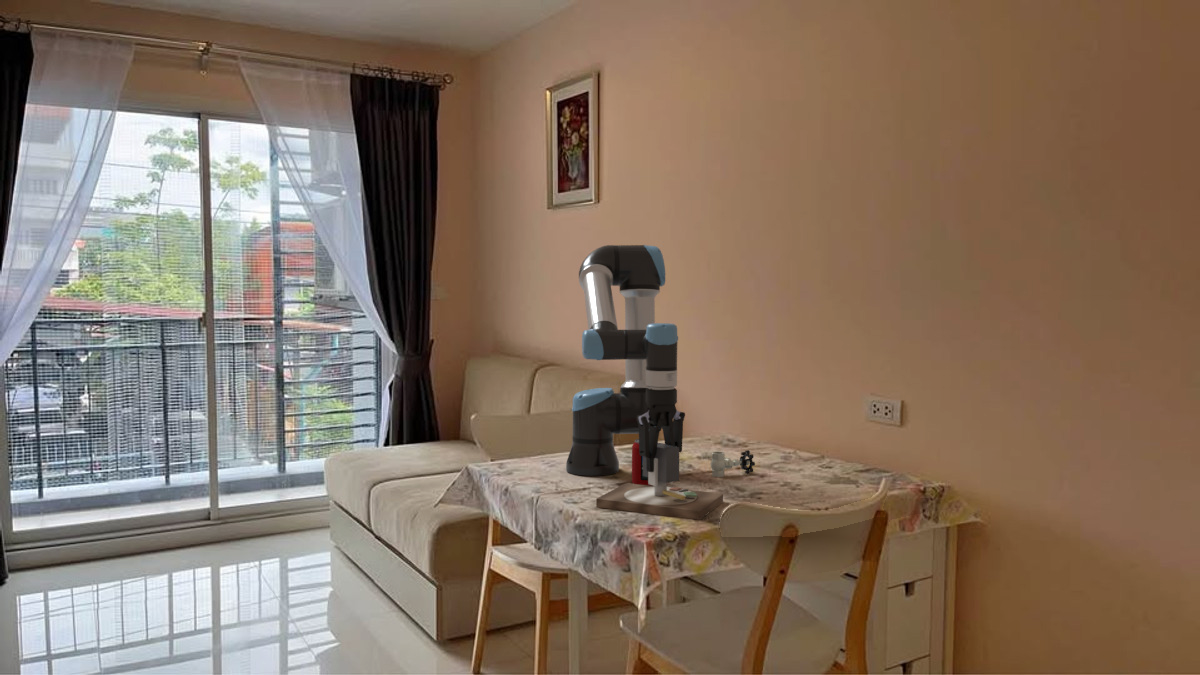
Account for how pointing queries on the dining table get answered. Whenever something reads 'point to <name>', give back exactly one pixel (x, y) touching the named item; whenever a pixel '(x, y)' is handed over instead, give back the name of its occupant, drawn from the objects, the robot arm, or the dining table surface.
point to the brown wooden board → (660, 501)
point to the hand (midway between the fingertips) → (660, 483)
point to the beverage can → (638, 466)
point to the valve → (730, 463)
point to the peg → (665, 469)
